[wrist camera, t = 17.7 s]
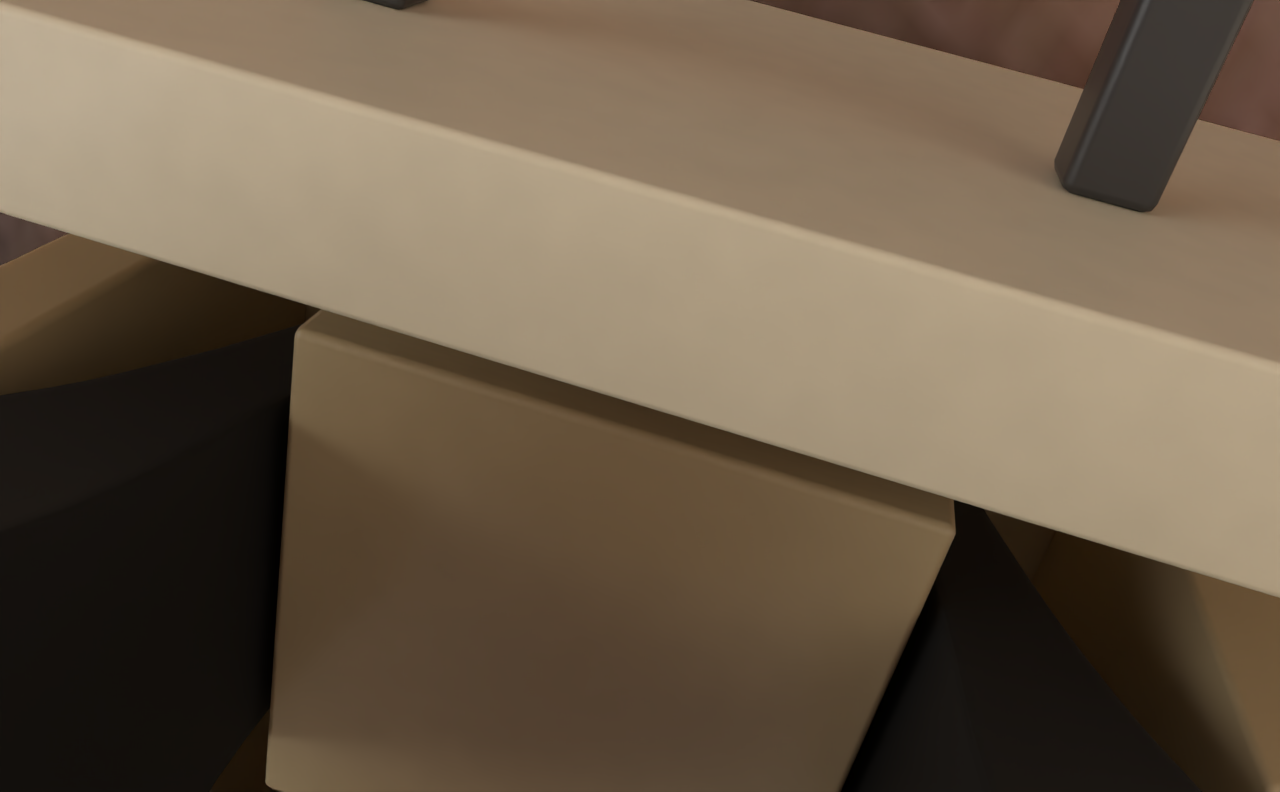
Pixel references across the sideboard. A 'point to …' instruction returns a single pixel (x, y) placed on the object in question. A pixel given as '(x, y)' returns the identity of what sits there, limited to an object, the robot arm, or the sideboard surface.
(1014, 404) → the drawer
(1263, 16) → the sideboard surface
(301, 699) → the block
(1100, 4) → the sideboard surface
